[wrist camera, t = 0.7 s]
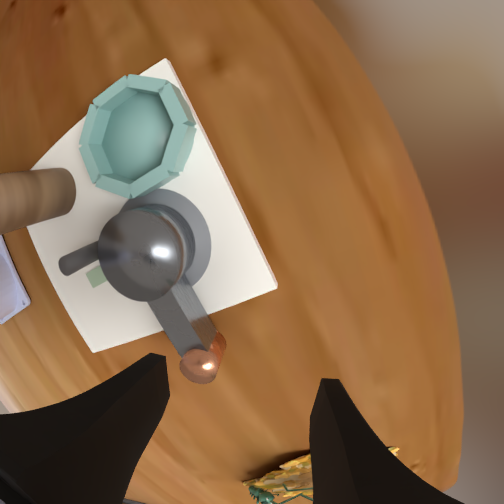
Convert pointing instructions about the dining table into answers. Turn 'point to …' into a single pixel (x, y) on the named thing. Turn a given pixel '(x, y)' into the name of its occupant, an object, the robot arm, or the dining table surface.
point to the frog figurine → (287, 481)
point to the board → (109, 204)
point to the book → (130, 502)
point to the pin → (34, 197)
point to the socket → (137, 136)
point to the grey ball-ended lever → (162, 281)
